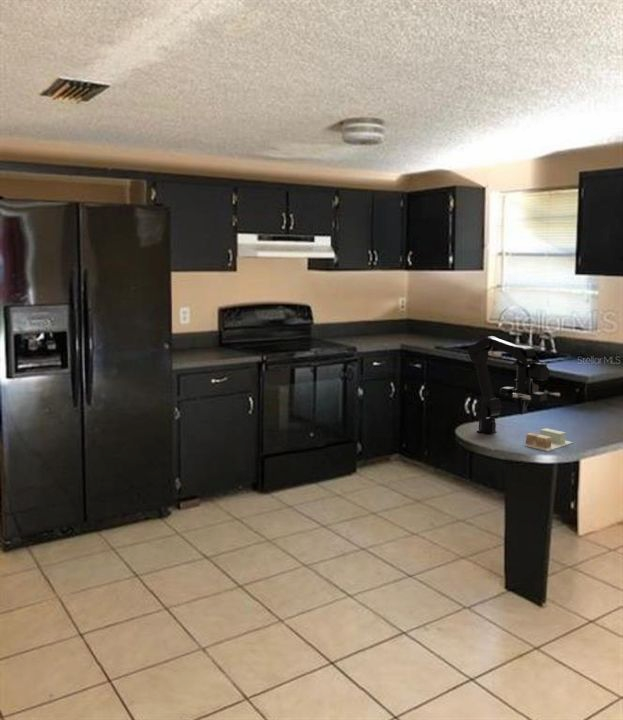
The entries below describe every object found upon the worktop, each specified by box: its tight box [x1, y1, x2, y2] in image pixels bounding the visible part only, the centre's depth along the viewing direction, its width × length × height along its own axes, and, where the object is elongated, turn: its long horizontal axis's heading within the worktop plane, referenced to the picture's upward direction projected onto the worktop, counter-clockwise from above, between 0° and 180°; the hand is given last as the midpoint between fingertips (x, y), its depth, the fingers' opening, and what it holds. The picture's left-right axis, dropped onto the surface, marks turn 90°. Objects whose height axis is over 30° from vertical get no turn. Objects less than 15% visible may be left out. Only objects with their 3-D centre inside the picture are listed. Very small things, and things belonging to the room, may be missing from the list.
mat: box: [524, 440, 574, 452], centre depth 284 cm, size 10×19×1 cm, turn 131°
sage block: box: [540, 427, 567, 443], centre depth 288 cm, size 4×4×9 cm
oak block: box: [525, 432, 552, 448], centre depth 281 cm, size 4×4×9 cm
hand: (521, 414), depth 286 cm, fingers closed
